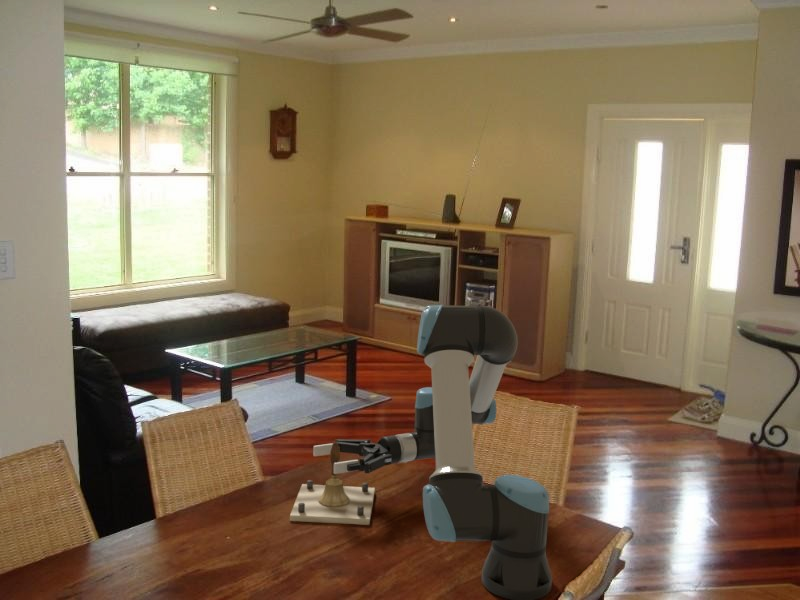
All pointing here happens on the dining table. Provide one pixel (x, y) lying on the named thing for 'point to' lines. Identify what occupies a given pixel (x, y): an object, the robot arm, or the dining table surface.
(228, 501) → the dining table surface
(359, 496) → the board
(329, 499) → the hand bell
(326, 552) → the dining table surface
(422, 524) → the dining table surface
